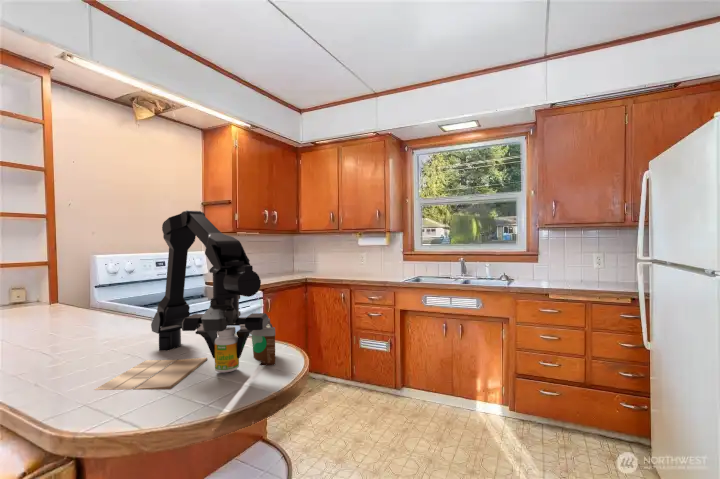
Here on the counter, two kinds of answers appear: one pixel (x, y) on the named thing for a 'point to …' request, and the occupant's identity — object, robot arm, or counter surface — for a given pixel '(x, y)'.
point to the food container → (264, 344)
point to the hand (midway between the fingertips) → (226, 357)
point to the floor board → (135, 375)
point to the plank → (171, 374)
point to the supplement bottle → (226, 350)
